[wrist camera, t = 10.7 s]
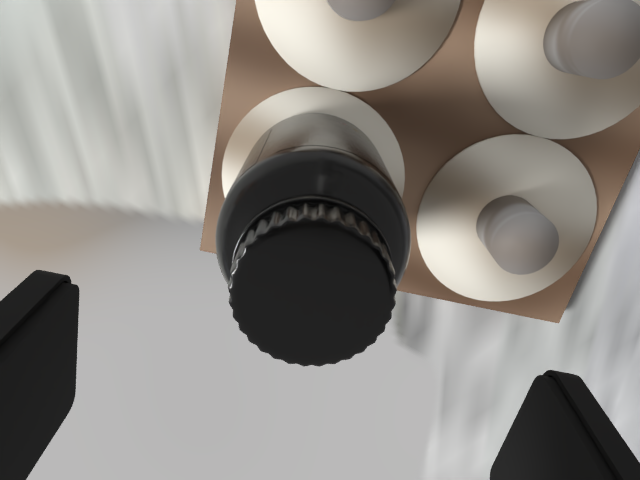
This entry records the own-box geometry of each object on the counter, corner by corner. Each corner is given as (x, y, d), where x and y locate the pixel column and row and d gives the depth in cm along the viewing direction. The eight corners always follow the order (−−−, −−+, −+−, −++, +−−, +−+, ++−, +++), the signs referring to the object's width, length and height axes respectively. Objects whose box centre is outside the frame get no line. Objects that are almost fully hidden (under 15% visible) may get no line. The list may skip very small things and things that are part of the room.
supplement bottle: (337, 266, 27) (344, 432, 16) (221, 201, 26) (144, 333, 15) (413, 157, 25) (483, 264, 14) (291, 79, 24) (261, 129, 13)
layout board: (267, -178, 21) (254, -222, 17) (716, -56, 23) (797, -73, 19) (204, 241, 28) (185, 275, 25) (550, 312, 30) (583, 355, 26)
